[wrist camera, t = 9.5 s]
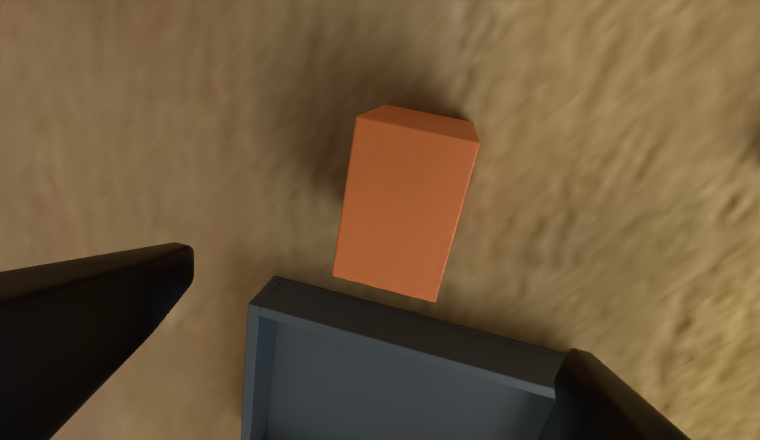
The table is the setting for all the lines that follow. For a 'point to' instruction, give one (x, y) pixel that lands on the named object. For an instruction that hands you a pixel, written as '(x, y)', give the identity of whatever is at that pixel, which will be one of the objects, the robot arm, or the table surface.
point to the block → (403, 199)
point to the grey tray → (386, 374)
